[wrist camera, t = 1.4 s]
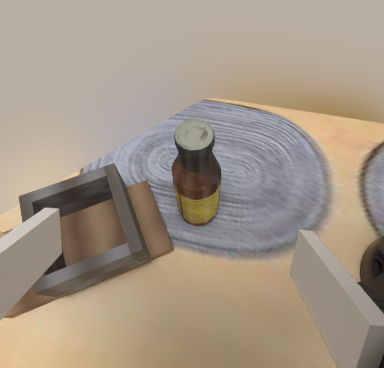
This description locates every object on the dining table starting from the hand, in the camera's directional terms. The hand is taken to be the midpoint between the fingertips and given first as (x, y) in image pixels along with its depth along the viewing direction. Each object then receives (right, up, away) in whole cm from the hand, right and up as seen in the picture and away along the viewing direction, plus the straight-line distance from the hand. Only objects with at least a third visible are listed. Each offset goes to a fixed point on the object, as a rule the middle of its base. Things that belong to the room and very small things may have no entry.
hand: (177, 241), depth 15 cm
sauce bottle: (+2, -1, +30) cm, 30 cm away
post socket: (-15, -6, +28) cm, 32 cm away
